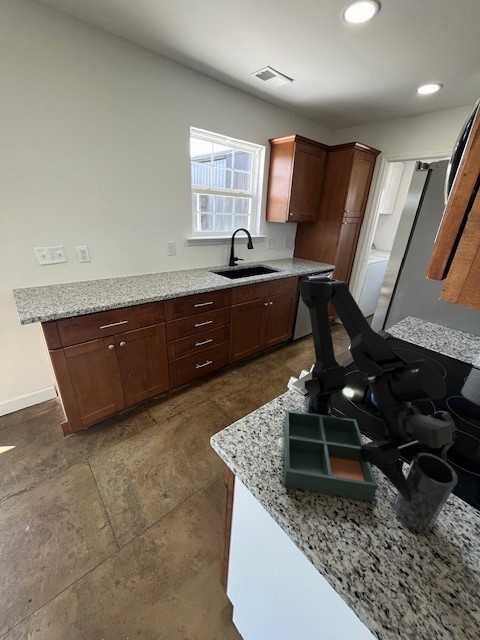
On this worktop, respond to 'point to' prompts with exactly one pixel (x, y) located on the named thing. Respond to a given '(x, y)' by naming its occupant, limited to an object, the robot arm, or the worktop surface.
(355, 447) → the divided compartment tray
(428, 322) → the worktop surface
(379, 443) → the robot arm
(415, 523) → the grey tumbler
